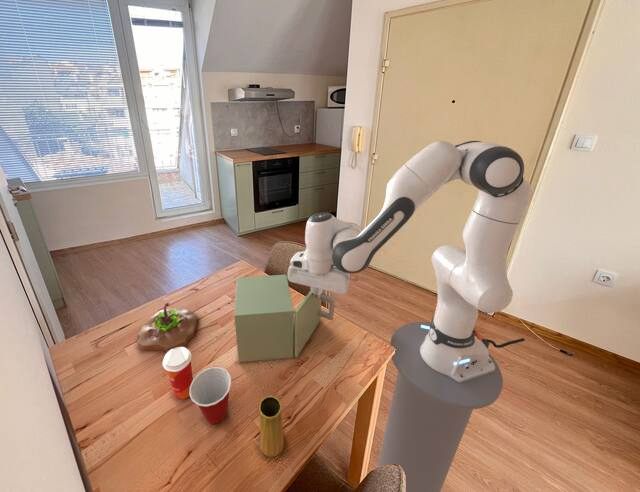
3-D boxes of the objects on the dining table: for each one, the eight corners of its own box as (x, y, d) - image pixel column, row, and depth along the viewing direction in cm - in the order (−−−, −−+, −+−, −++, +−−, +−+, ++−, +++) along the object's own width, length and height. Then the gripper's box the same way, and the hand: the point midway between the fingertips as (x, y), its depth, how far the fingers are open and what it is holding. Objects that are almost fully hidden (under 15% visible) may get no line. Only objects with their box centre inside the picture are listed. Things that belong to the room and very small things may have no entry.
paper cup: (170, 382, 89) (162, 349, 84) (196, 375, 91) (190, 342, 86) (169, 406, 82) (161, 371, 77) (197, 398, 84) (191, 364, 79)
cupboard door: (334, 326, 110) (338, 283, 102) (312, 364, 94) (315, 318, 86) (317, 319, 113) (320, 278, 105) (294, 356, 97) (294, 310, 90)
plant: (204, 314, 117) (201, 291, 112) (185, 354, 99) (180, 328, 94) (157, 310, 119) (151, 288, 114) (129, 349, 101) (122, 324, 96)
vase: (262, 460, 70) (260, 423, 64) (257, 434, 76) (254, 397, 70) (286, 452, 72) (286, 415, 66) (280, 427, 77) (279, 391, 71)
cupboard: (286, 316, 115) (286, 274, 107) (293, 357, 97) (293, 311, 89) (240, 319, 113) (236, 277, 105) (238, 362, 96) (234, 315, 88)
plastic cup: (192, 404, 83) (185, 374, 78) (229, 389, 87) (225, 360, 82) (198, 442, 74) (192, 411, 69) (239, 424, 78) (236, 394, 73)
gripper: (353, 263, 92) (349, 299, 97) (292, 251, 99) (292, 284, 105) (349, 274, 86) (345, 311, 92) (285, 260, 94) (285, 295, 100)
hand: (317, 296), depth 99 cm, fingers closed
